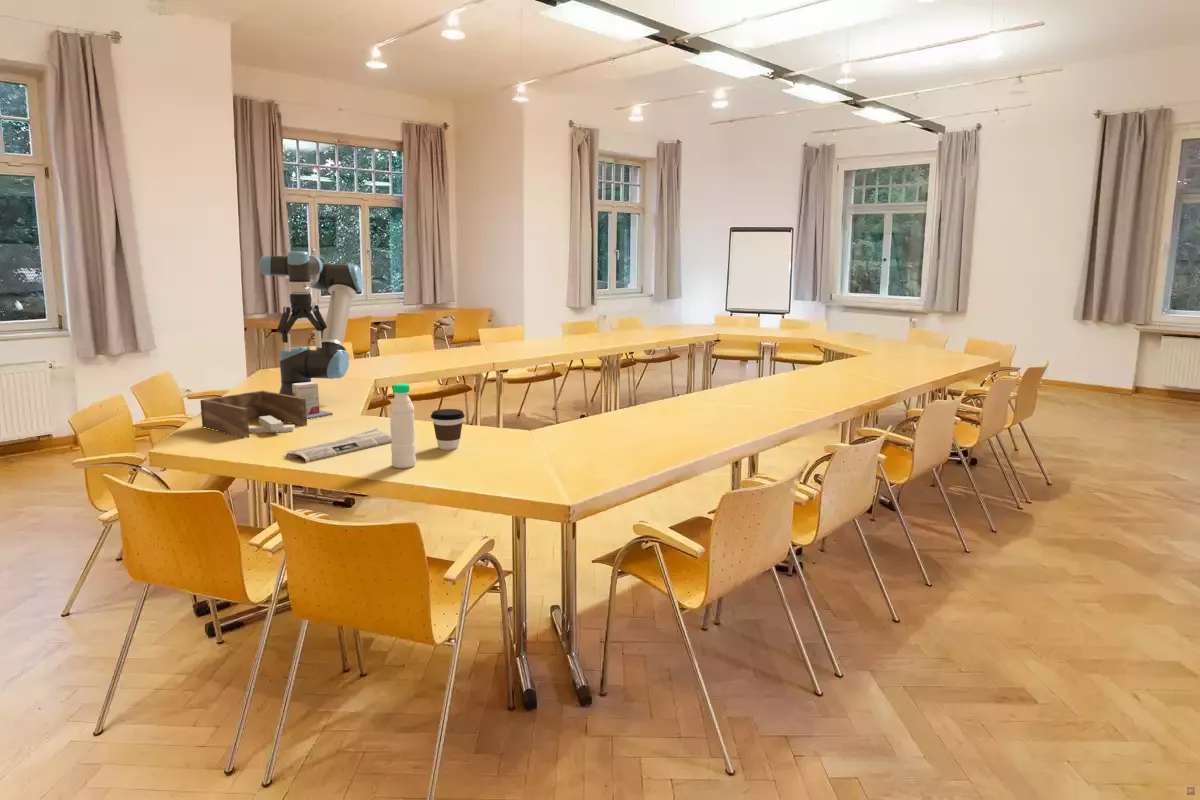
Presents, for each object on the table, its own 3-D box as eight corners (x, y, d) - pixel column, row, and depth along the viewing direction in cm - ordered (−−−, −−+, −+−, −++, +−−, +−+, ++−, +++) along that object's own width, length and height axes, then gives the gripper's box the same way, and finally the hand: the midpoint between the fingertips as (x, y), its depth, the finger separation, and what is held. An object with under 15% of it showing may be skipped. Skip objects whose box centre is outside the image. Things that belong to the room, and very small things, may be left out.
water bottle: (393, 462, 243) (391, 382, 238) (417, 462, 243) (415, 382, 238) (389, 469, 236) (386, 386, 231) (414, 468, 236) (411, 386, 231)
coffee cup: (436, 453, 255) (435, 416, 252) (427, 445, 264) (426, 410, 262) (469, 449, 260) (469, 413, 257) (459, 442, 269) (458, 407, 267)
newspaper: (306, 464, 241) (305, 453, 240) (282, 458, 248) (281, 447, 247) (397, 442, 269) (397, 432, 268) (374, 437, 276) (373, 427, 275)
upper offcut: (283, 429, 276) (283, 422, 275) (271, 431, 273) (271, 424, 273) (270, 421, 287) (270, 415, 287) (259, 423, 285) (258, 416, 284)
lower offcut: (295, 431, 284) (294, 424, 283) (293, 433, 280) (293, 427, 280) (250, 432, 281) (250, 425, 280) (247, 435, 277) (247, 428, 277)
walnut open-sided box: (264, 416, 304) (262, 390, 302) (307, 425, 290) (305, 398, 288) (202, 427, 284) (200, 400, 282) (245, 438, 270) (242, 409, 268)
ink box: (315, 410, 311) (313, 381, 309) (320, 413, 307) (318, 383, 305) (292, 413, 305) (291, 383, 303) (297, 415, 302) (295, 385, 299)
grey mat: (309, 410, 316) (309, 408, 316) (332, 414, 308) (332, 412, 308) (281, 415, 305) (280, 413, 305) (303, 420, 297) (303, 418, 297)
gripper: (277, 295, 285) (280, 353, 290) (334, 292, 306) (337, 346, 310) (264, 294, 290) (268, 351, 294) (321, 291, 310) (324, 345, 314)
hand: (303, 349), depth 302 cm, fingers open, 13 cm apart
